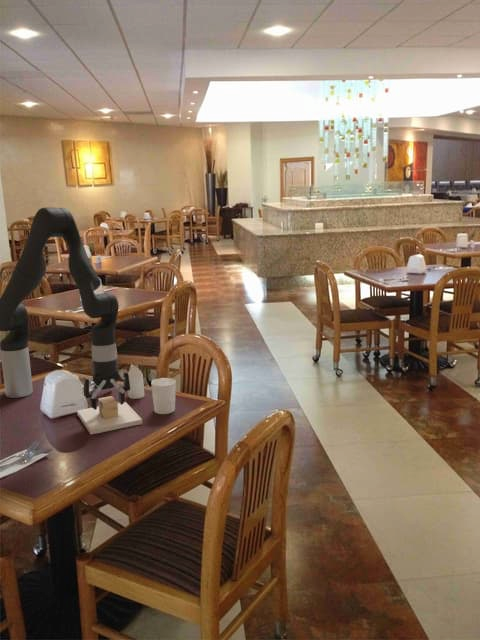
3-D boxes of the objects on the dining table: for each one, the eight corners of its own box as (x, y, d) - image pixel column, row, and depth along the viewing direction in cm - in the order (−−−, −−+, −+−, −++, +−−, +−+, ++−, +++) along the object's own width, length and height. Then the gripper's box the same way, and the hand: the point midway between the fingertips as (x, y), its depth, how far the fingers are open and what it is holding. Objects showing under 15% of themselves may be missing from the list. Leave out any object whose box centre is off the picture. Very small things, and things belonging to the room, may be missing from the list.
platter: (77, 414, 186) (77, 410, 185) (125, 405, 193) (125, 401, 192) (90, 434, 170) (90, 429, 170) (142, 423, 177) (142, 419, 177)
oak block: (99, 413, 183) (98, 398, 182) (113, 410, 185) (112, 395, 184) (104, 419, 177) (103, 404, 176) (118, 416, 179) (117, 401, 178)
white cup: (165, 404, 193) (163, 376, 191) (181, 409, 188) (180, 381, 186) (147, 411, 187) (146, 382, 185) (164, 417, 182) (162, 387, 180)
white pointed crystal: (145, 362, 200) (135, 367, 195) (147, 395, 203) (137, 400, 198) (132, 360, 203) (122, 364, 198) (134, 392, 205) (124, 397, 201)
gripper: (123, 351, 183) (126, 398, 187) (78, 357, 177) (82, 406, 180) (130, 356, 177) (133, 406, 180) (84, 363, 170) (88, 414, 174)
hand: (108, 406), depth 180 cm, fingers open, 8 cm apart
